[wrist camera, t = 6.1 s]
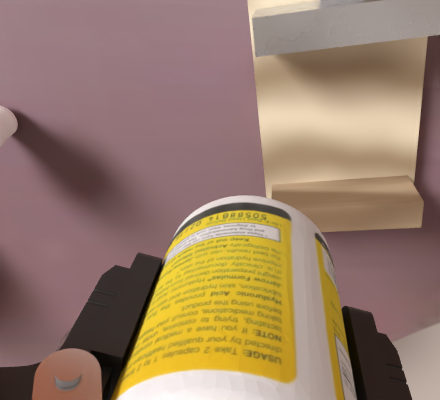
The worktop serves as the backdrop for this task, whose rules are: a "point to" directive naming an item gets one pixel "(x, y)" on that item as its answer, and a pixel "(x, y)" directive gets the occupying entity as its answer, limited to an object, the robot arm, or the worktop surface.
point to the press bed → (342, 130)
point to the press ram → (341, 24)
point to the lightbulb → (6, 124)
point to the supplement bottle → (242, 312)
